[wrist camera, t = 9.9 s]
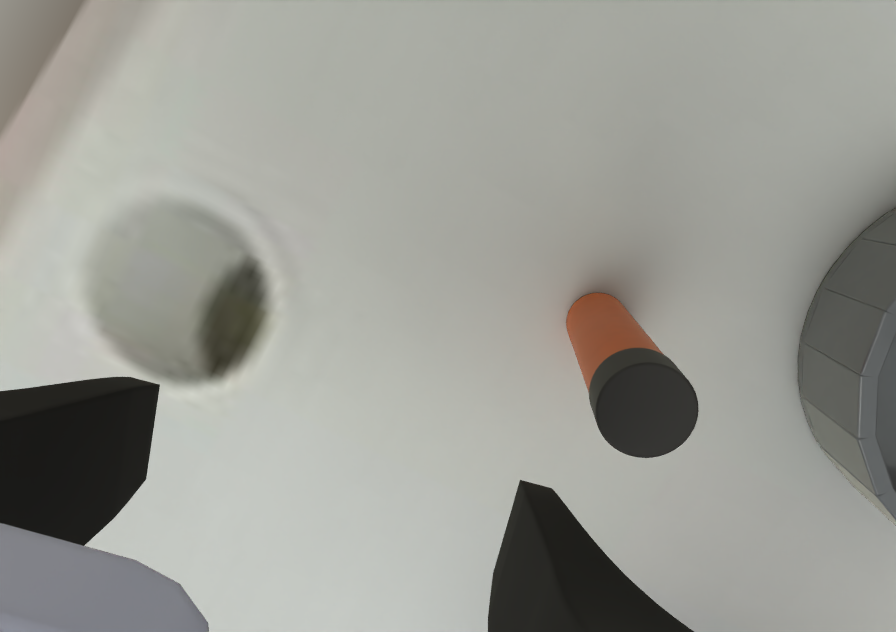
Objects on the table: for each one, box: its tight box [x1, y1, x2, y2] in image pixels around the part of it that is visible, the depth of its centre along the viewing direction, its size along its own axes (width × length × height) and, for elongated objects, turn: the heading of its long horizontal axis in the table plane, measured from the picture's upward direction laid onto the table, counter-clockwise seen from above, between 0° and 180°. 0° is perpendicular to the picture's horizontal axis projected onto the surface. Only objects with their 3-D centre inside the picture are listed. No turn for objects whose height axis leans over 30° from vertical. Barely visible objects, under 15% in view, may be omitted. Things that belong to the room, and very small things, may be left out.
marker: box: [566, 293, 698, 458], centre depth 18 cm, size 2×2×8 cm
